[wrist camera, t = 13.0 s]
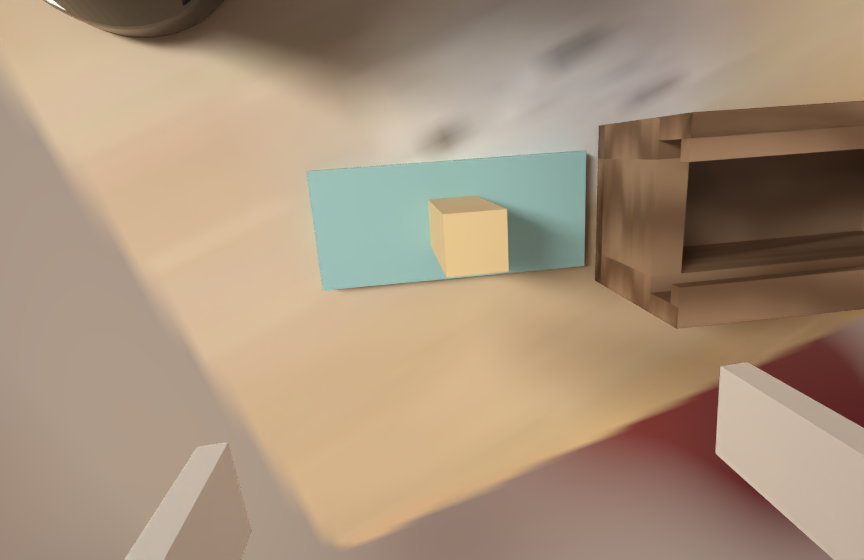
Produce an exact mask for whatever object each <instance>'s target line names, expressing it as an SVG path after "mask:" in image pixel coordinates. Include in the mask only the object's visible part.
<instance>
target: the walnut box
mask: <svg viewBox="0 0 864 560" xmlns="http://www.w3.org/2000/svg"><path fill="white" fill-rule="evenodd" d="M595 281H597V282H599V283H600V284H602V285H604V286H605V287H607V288H609V289H611V290H612V291H614V292H616V293H617V294H619V295H621V296H622V297H624V298H626V299H628V300H629V301H631V302H633V303H634V304H636V305H638V306H639V307H641V308H643V309H645V310H646V311H648V312H650V313H651V314H653V315H655V316H656V317H658V318H660V319H662V320H663V321H665V322H667V323H668V324H670V325H672V326H673V327H675V328H677V329H678V328H687V327H697V326H706V325H716V324H725V323H735V322H744V321H753V320H763V319H772V318H782V317H791V316H801V315H810V314H820V313H829V312H839V311H848V310H857V309H864V101H853V102H838V103H824V104H809V105H794V106H780V107H765V108H751V109H736V110H721V111H707V112H693V113H686V114H678V115H671V116H664V117H657V118H650V119H643V120H636V121H629V122H622V123H615V124H608V125H601V126H599V144H598V186H597V228H596V270H595Z"/></svg>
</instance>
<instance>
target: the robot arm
mask: <svg viewBox="0 0 864 560" xmlns="http://www.w3.org/2000/svg"><path fill="white" fill-rule="evenodd" d="M44 1H45V2H46V3H48V4H49V5H51V6H53V7H54V8H56V9H58V10H60V11H62V12H63V13H65V14H67V15H69V16H72V17H74V18H76V19H78V20H81V21H83V22H85V23H87V24H89V25H92V26H94V27H96V28H99V29H102V30H105V31H108V32H112V33H116V34H120V35H126V36H134V37H154V36H162V35H168V34H172V33H176V32H179V31H181V30H184V29H186V28H189V27H191V26H193V25H195V24H196V23H198V22H200V21H201V20H203V19H204V18H206V17H207V16H208V15H210V14H211V13H212V12H213V11H214V10H215V9H216V8H217V7H218V6H219V5H220V4H221V3H222V2H223V1H224V0H44ZM716 454H717V455H718V456H719V457H720V458H721V459H722V460H723V461H724V462H726V463H727V464H728V465H729V466H730V467H731V468H732V469H733V470H734V471H736V472H737V473H738V474H739V475H740V476H741V477H742V478H743V479H745V480H746V481H747V482H748V483H749V484H750V485H751V486H752V487H753V488H755V489H756V490H757V491H758V492H759V493H760V494H761V495H763V496H764V497H765V498H766V499H767V500H768V501H769V502H770V503H771V504H772V505H773V506H775V507H776V508H777V509H778V510H779V511H780V512H781V513H782V514H784V515H785V516H786V517H787V518H788V519H789V520H790V521H791V522H792V523H794V524H795V525H796V526H797V527H798V528H799V529H800V530H801V531H802V532H804V533H805V534H806V535H807V536H808V537H809V538H810V539H812V540H813V541H814V542H815V543H816V544H817V545H818V546H819V547H820V548H821V549H823V550H824V551H825V552H826V553H827V554H828V555H829V556H830V557H831V558H833V559H834V560H864V428H863V427H861V426H859V425H857V424H856V423H854V422H852V421H850V420H848V419H847V418H845V417H843V416H841V415H840V414H838V413H836V412H834V411H833V410H831V409H829V408H827V407H826V406H824V405H822V404H820V403H819V402H817V401H815V400H813V399H811V398H810V397H808V396H806V395H804V394H803V393H801V392H799V391H797V390H796V389H794V388H792V387H790V386H788V385H787V384H785V383H783V382H781V381H780V380H778V379H776V378H774V377H773V376H771V375H769V374H767V373H766V372H764V371H762V370H760V369H759V368H757V367H755V366H753V365H751V364H750V363H748V362H744V363H738V364H731V365H725V366H720V383H719V400H718V418H717V436H716ZM250 534H251V527H250V523H249V519H248V515H247V512H246V508H245V504H244V500H243V496H242V493H241V489H240V485H239V481H238V477H237V474H236V470H235V466H234V462H233V459H232V455H231V451H230V447H229V444H228V442H225V443H220V444H212V445H206V446H199V447H197V448H196V449H195V451H194V453H193V454H192V456H191V457H190V459H189V460H188V462H187V463H186V465H185V467H184V468H183V470H182V471H181V473H180V474H179V476H178V477H177V479H176V480H175V482H174V484H173V485H172V487H171V488H170V490H169V491H168V493H167V495H166V496H165V497H164V499H163V501H162V502H161V504H160V505H159V507H158V508H157V510H156V511H155V513H154V514H153V516H152V518H151V519H150V521H149V522H148V524H147V525H146V527H145V528H144V530H143V532H142V533H141V535H140V536H139V538H138V539H137V541H136V542H135V544H134V545H133V547H132V549H131V550H130V552H129V553H128V555H127V556H126V558H125V559H124V560H241V559H242V557H243V554H244V551H245V548H246V545H247V542H248V539H249V537H250Z"/></svg>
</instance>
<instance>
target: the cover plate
mask: <svg viewBox="0 0 864 560" xmlns="http://www.w3.org/2000/svg"><path fill="white" fill-rule="evenodd" d="M307 179H308V186H309V194H310V201H311V208H312V215H313V223H314V230H315V237H316V244H317V252H318V259H319V266H320V273H321V281H322V288H323V290H334V289H345V288H355V287H366V286H377V285H387V284H398V283H408V282H419V281H430V280H440V279H451V278H462V277H472V276H483V275H493V274H504V273H515V272H525V271H536V270H547V269H557V268H568V267H579V266H584V254H585V195H586V151H571V152H558V153H545V154H531V155H518V156H504V157H491V158H477V159H464V160H451V161H437V162H424V163H410V164H397V165H383V166H370V167H357V168H343V169H330V170H316V171H307Z"/></svg>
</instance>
